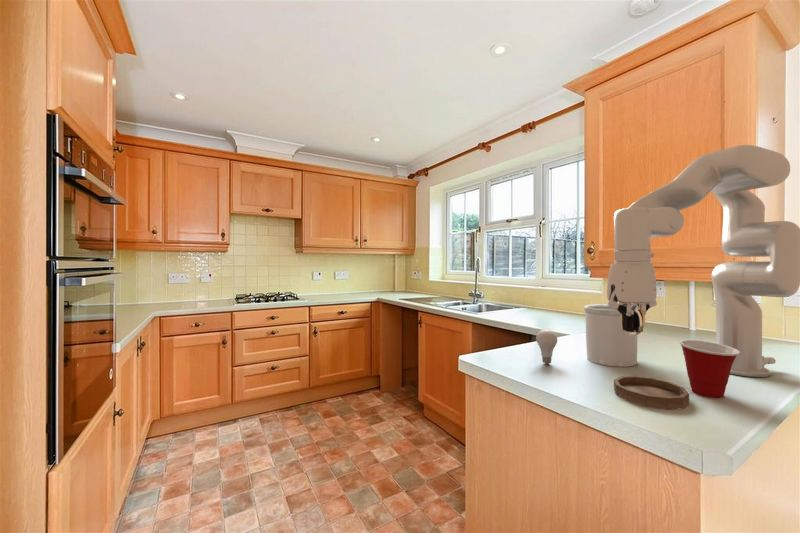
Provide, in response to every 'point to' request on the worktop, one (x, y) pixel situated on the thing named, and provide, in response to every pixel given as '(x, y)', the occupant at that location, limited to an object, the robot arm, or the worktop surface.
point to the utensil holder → (608, 337)
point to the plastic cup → (708, 366)
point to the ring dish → (651, 392)
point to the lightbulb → (546, 344)
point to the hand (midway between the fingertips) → (632, 330)
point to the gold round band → (640, 317)
